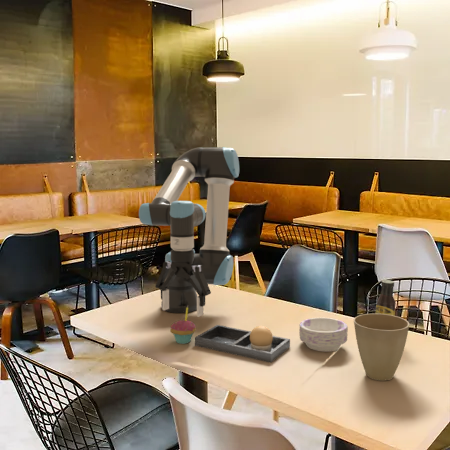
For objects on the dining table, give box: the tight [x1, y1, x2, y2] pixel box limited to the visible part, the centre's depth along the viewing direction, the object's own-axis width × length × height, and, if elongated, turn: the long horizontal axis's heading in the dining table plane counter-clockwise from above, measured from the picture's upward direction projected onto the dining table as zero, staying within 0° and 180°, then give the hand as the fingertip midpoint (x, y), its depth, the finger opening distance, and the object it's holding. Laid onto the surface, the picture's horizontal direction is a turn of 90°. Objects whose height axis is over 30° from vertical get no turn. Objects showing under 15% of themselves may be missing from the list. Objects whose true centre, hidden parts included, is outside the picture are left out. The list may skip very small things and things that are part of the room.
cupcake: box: [170, 306, 197, 344], centre depth 178 cm, size 9×8×12 cm
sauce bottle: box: [375, 279, 397, 316], centre depth 180 cm, size 7×6×20 cm
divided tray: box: [194, 324, 291, 364], centre depth 172 cm, size 27×14×4 cm, turn 60°
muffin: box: [250, 325, 274, 352], centre depth 169 cm, size 7×7×8 cm
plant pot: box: [353, 313, 410, 381], centre depth 152 cm, size 15×15×16 cm
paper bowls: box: [299, 317, 349, 352], centre depth 173 cm, size 15×15×8 cm
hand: (182, 312), depth 177 cm, fingers open, 13 cm apart
